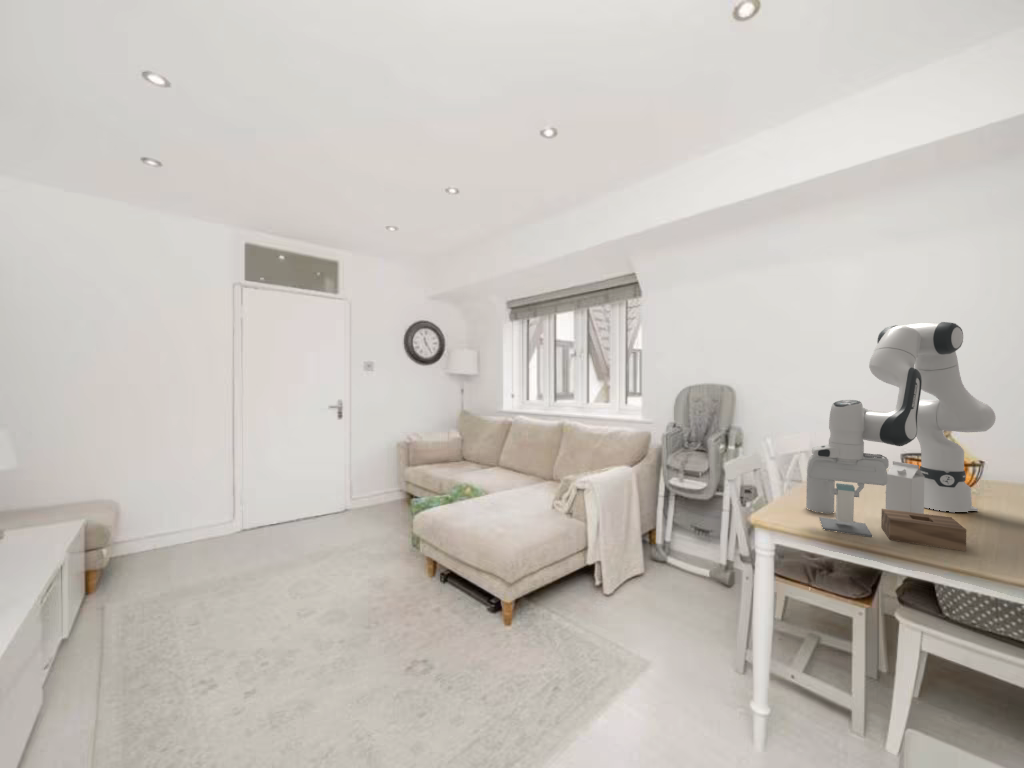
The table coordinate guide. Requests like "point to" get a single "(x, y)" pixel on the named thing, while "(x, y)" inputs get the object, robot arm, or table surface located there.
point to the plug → (845, 502)
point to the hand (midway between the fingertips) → (845, 495)
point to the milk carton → (905, 488)
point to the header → (923, 529)
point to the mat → (845, 527)
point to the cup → (819, 495)
